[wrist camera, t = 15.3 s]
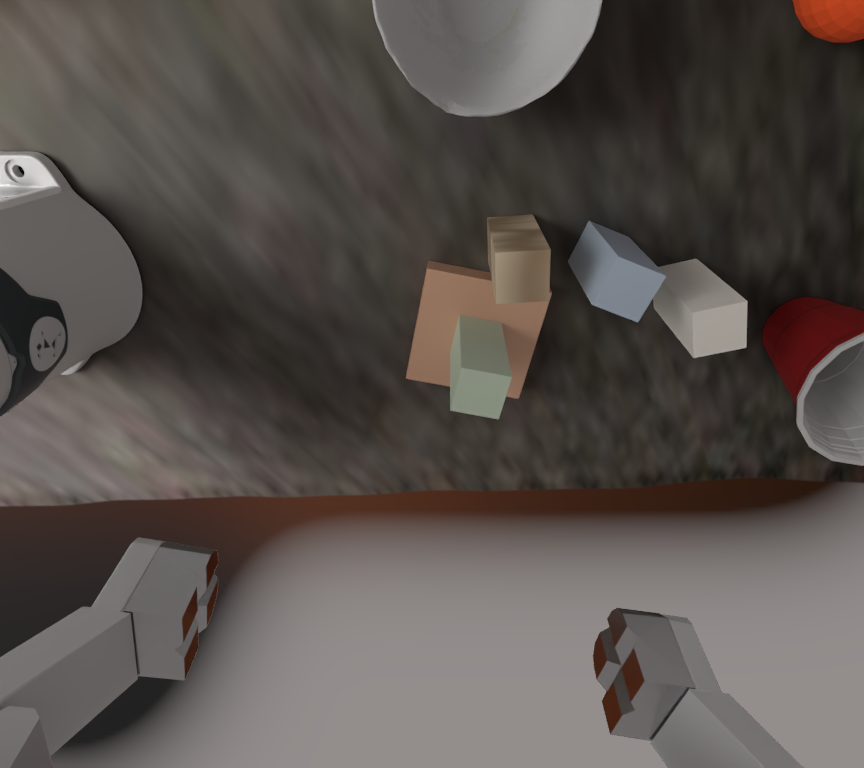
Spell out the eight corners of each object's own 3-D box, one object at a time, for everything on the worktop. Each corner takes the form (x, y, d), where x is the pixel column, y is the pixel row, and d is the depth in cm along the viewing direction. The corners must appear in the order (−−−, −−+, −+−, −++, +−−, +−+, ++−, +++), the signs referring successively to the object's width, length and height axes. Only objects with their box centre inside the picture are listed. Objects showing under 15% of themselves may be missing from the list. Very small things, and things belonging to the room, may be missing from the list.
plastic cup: (778, 246, 45) (877, 304, 34) (894, 289, 46) (1022, 357, 36) (702, 361, 50) (768, 443, 40) (808, 397, 51) (899, 484, 41)
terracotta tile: (407, 367, 51) (405, 378, 49) (428, 260, 46) (427, 268, 44) (516, 387, 52) (518, 398, 50) (548, 283, 47) (552, 292, 45)
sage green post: (450, 352, 48) (450, 410, 40) (459, 314, 46) (461, 367, 38) (490, 360, 48) (498, 419, 40) (501, 322, 46) (511, 377, 39)
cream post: (653, 308, 48) (693, 358, 40) (651, 268, 46) (692, 312, 38) (697, 298, 47) (746, 347, 39) (696, 258, 45) (747, 301, 38)
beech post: (488, 261, 46) (496, 304, 38) (487, 217, 44) (495, 252, 36) (532, 258, 46) (549, 301, 38) (532, 214, 44) (550, 249, 36)
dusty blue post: (567, 261, 46) (591, 304, 38) (588, 220, 44) (618, 256, 36) (606, 277, 46) (637, 322, 39) (628, 236, 45) (666, 276, 37)
